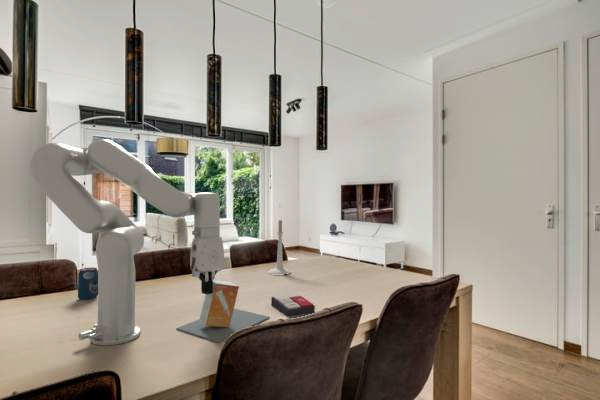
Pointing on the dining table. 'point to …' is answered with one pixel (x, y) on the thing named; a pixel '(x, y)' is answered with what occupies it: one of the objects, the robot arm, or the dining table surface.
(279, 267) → the candlestick
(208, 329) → the mat
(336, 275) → the dining table surface
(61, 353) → the dining table surface
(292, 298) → the flat red grey box
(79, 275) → the soda can
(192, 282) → the dining table surface
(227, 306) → the small box
